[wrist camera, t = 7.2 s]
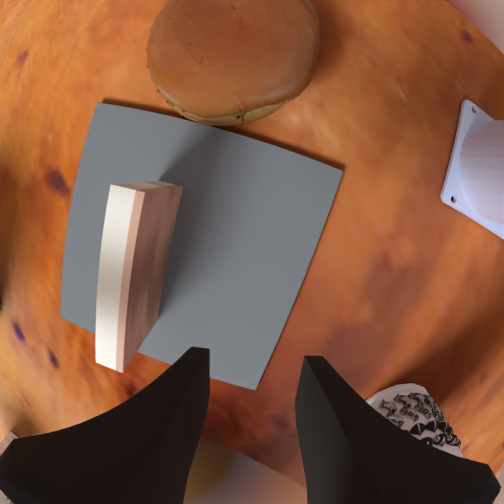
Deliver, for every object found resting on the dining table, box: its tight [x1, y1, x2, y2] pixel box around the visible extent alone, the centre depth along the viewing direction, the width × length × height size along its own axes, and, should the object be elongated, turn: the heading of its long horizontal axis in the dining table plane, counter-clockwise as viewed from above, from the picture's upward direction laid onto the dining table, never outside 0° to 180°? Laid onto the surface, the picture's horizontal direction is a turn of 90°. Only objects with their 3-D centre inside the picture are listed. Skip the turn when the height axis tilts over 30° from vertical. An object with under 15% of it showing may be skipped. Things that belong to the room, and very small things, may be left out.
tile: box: [96, 181, 183, 373], centre depth 15 cm, size 9×2×6 cm, turn 165°
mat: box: [60, 102, 343, 390], centre depth 18 cm, size 16×16×1 cm
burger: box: [146, 0, 322, 126], centre depth 13 cm, size 10×9×5 cm
